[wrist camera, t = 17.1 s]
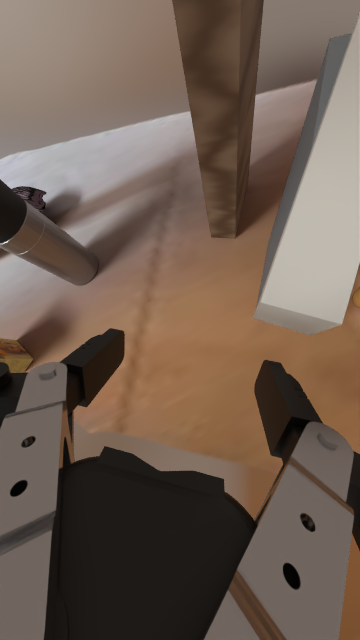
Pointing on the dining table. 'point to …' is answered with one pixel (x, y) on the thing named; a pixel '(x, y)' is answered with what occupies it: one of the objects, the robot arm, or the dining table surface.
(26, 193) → the decorative flower
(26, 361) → the candy box
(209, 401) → the dining table surface
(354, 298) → the figurine
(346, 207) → the bar
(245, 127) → the tall wooden block
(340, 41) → the grey rectangular box
